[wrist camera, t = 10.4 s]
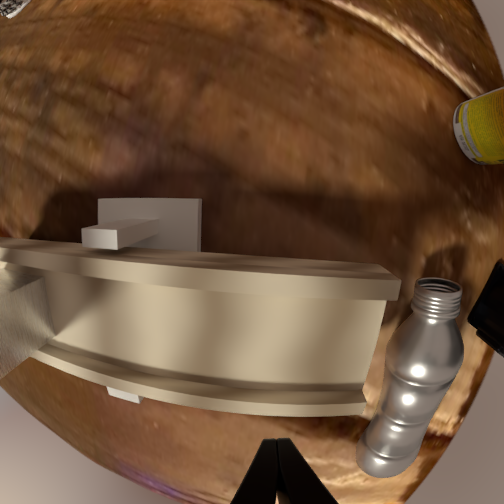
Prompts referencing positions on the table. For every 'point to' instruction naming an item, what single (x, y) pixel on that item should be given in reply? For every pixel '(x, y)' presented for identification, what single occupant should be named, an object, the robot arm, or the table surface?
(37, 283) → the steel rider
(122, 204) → the beam stand
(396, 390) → the silver metal bottle
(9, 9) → the white patterned cylinder
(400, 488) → the table surface
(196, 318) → the balance beam
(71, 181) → the table surface
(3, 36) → the table surface
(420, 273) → the table surface
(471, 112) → the supplement bottle
